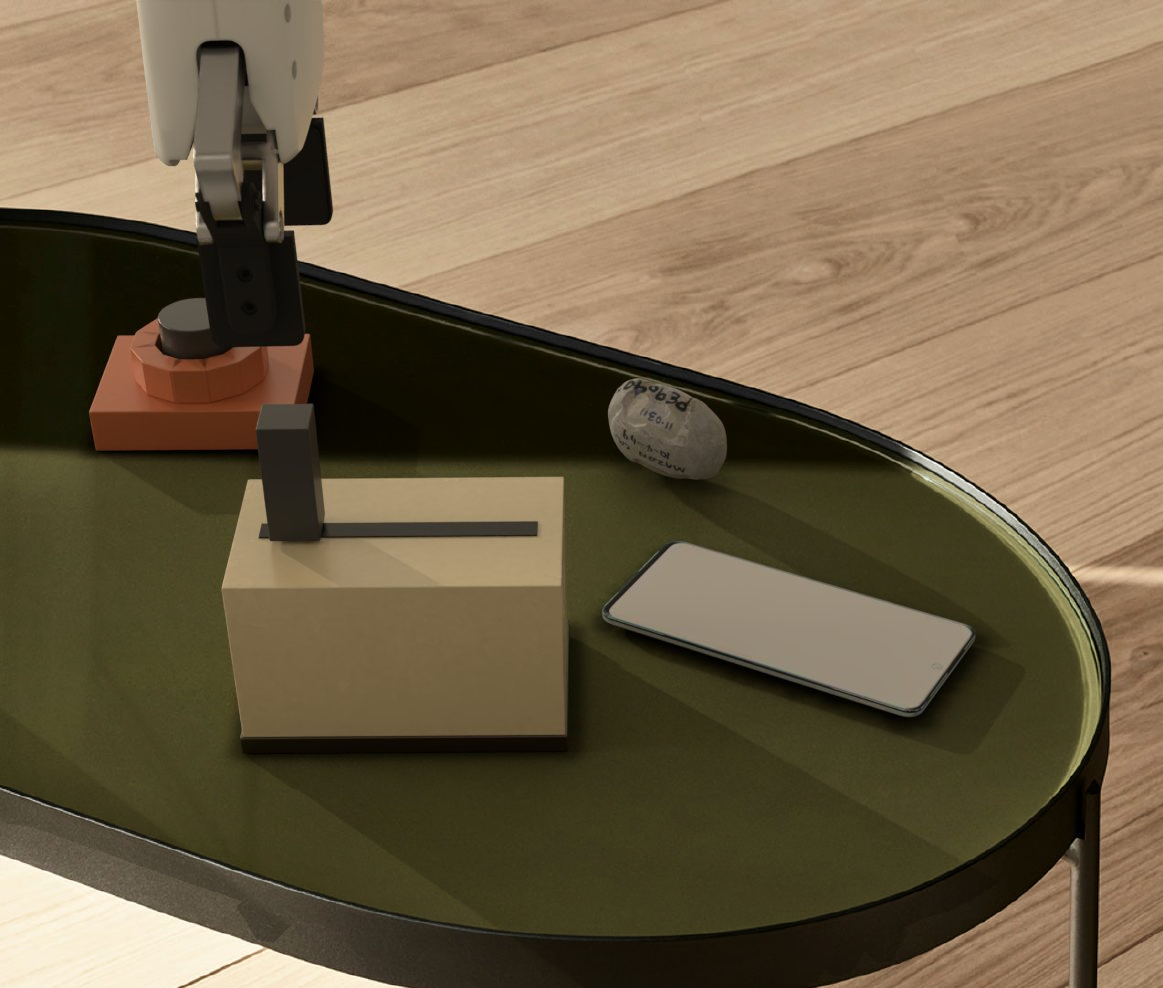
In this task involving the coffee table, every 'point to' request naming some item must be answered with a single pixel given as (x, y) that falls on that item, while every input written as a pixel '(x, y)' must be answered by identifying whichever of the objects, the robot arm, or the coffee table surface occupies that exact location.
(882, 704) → the smartphone
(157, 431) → the timer box
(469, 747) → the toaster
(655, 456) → the fossil
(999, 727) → the coffee table surface
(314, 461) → the slider
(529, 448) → the coffee table surface
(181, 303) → the timer button
